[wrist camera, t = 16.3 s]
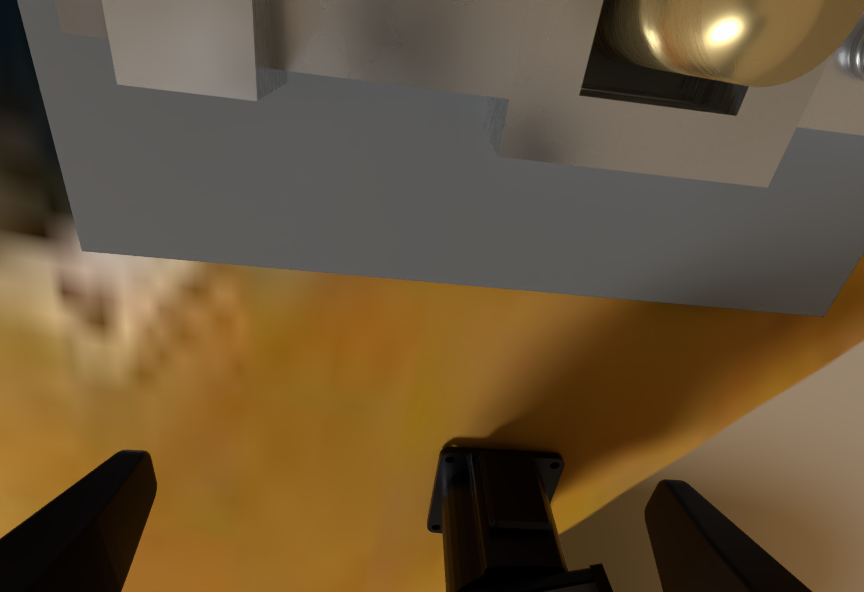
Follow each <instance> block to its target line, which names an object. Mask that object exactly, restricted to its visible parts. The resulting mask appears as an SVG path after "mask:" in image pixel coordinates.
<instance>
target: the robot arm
mask: <svg viewBox="0 0 864 592" xmlns="http://www.w3.org/2000/svg"><path fill="white" fill-rule="evenodd" d="M450 456H451V457H450ZM553 462H554V463H553ZM563 468H564V461H563V458H562V456H561V455H560V454H558V453H549V452H531V451H514V450H496V449H479V448H461V447H446V448H444V449H442V450H441V452H440V455H439V460H438V465H437V471H436V476H435V481H434V487H433V492H432V498H431V503H430V508H429V514H428V519H427V527H428V530H429V531H430V532H434V533H442V534H443V550H444V566H445V582H446V592H613V591H612V588H611V585H610V583H609V580H608V578H607V575H606V573H605V570H604V568H603V565H602V563H599V564H593V565H589V568H585V569H579V570H574V571H568V567H567V563H566V560H565V557H564V553H563V549H562V546H561V542H560V539H559V535H558V531H557V528H556V524H555V521H554V517H553V514H552V510H551V507H550V502H551V500H552V497H553V494H554V492H555V489H556V486H557V484H558V481H559V478H560V476H561V473H562V470H563ZM156 491H157V481H156V477H155V472H154V468H153V464H152V459H151V456H150V454H149V453H148V452H147V451H143V450H122V451H119V452H117V453H116V454H114V455H113V456H112V457H110V458H109V459H108V460H106V461H105V462H104V463H102V464H101V465H100V466H98V467H97V468H95V469H94V470H93V471H91V472H90V473H89V474H87V475H86V476H85V477H83V478H82V479H81V480H79V481H78V482H76V483H75V484H74V485H72V486H71V487H70V488H68V489H67V490H66V491H64V492H63V493H62V494H60V495H59V496H58V497H56V498H55V499H53V500H52V501H51V502H49V503H48V504H47V505H45V506H44V507H43V508H41V509H40V510H39V511H37V512H36V513H34V514H33V515H32V516H30V517H29V518H28V519H26V520H25V521H24V522H22V523H21V524H20V525H18V526H17V527H16V528H14V529H13V530H11V531H10V532H9V533H7V534H6V535H5V536H3V537H2V538H1V539H0V592H121V591H122V588H123V585H124V583H125V580H126V578H127V575H128V572H129V569H130V566H131V564H132V561H133V558H134V555H135V552H136V550H137V547H138V544H139V541H140V538H141V536H142V533H143V530H144V527H145V524H146V522H147V519H148V516H149V513H150V510H151V507H152V505H153V502H154V499H155V496H156ZM645 522H646V526H647V530H648V534H649V537H650V541H651V545H652V549H653V553H654V557H655V561H656V565H657V569H658V573H659V577H660V581H661V585H662V589H663V592H812V591H811V590H810V589H809V588H807V587H806V586H805V585H804V584H803V583H802V582H801V581H799V580H798V579H797V578H796V577H795V576H794V575H792V574H791V573H790V572H789V571H788V570H787V569H785V568H784V567H783V566H782V565H781V564H779V562H777V561H776V560H775V559H774V558H773V557H772V556H770V555H769V554H768V553H767V552H766V551H765V550H764V549H763V548H761V547H760V546H759V545H758V544H757V543H755V542H754V541H753V540H752V539H751V538H750V537H749V536H748V535H746V534H745V533H744V532H743V531H742V530H741V529H739V528H738V527H737V526H736V525H735V524H734V523H733V522H731V521H730V520H729V519H728V518H727V517H726V516H725V515H723V514H722V513H721V512H720V511H719V510H718V509H717V508H715V507H714V506H713V505H712V504H711V503H709V502H708V501H707V500H706V499H705V498H704V497H703V496H701V495H700V494H699V493H698V492H697V491H696V490H695V489H694V488H692V487H691V486H690V485H689V484H687V483H686V482H684V481H681V480H667V479H665V480H662V481H660V482H659V483H658V485H657V486H656V488H655V490H654V492H653V494H652V496H651V497H650V499H649V501H648V503H647V505H646V508H645Z"/></svg>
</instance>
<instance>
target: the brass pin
mask: <svg viewBox="0 0 864 592" xmlns="http://www.w3.org/2000/svg"><path fill="white" fill-rule="evenodd" d="M863 11H864V0H603V4H602V8H601V12H600V16H599V20H598V24H597V28H596V32H595V36H594V40H593V43H592V44H593V46H594V47H595V48H596V50H597V51H598V52H599V53H600V54H602V55H603V56H604V57H606V58H607V59H610V60H612V61H615V62H619V63H625V64H630V65H636V66H641V67H646V68H652V69H657V70H663V71H668V72H674V73H679V74H684V75H690V76H695V77H701V78H706V79H712V80H717V81H723V82H728V83H733V84H739V85H744V86H750V87H770V86H775V85H780V84H783V83H786V82H790V81H792V80H794V79H796V78H799V77H801V76H803V75H804V74H806V73H808V72H810V71H811V70H813V69H814V68H815V67H817V66H818V65H820V64H821V63H822V62H823V61H825V60H826V59H827V58H828V57H829V56H830V55H832V54H833V52H834V51H835V50H836V49H837V48H838V47H839V46H840V45H841V44H842V43H843V42H844V40H845V39H846V38H847V37H848V35H849V34H850V33H851V31H852V30H853V28H854V27H855V25H856V24H857V22H858V20H859V19H860V17H861V15H862V13H863Z"/></svg>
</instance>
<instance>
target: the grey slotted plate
mask: <svg viewBox="0 0 864 592" xmlns="http://www.w3.org/2000/svg"><path fill="white" fill-rule="evenodd" d="M55 5H56V9H57V13H58V18H59V22H60V27H61V31H62V33H70V34H77V35H85V36H93V37H101V38H108V32H107V27H106V22H105V16H104V11H103V5H102V0H55ZM714 83H715V80H712V79H706V78H701V77H695V76H690V75H684V74H683V75H682V78H681V81H680V83H679V86H678V89H677V92H676V95H668V94H661V93H653V92H646V91H638V90H631V89H623V88H615V87H608V86H600V85H593V84H585V83H582V86H581V89H583V90H591V91H598V92H606V93H613V94H621V95H629V96H636V97H644V98H652V99H659V100H667V101H675V102H682V103H690V104H698V105H705V106H706V104H707V101H708V99H709V96H710V93H711V91H712V88H713V85H714ZM497 102H498V98H496V97H488V96H487V100H486V106H485V112H484V117H483V123H482V131H483V133H484V134H485V136H486V138H487V139H488V141H491V135H492V130H493V124H494V119H495V113H496V107H497ZM797 127H800V128H808V129H816V130H824V131H831V132H839V133H847V134H855V135H863V136H864V11H863V13H862V15H861V17H860V19H859V20H858V22H857V24H856V25H855V27H854V28H853V30H852V31H851V33H850V34H849V35H848V37H847V38H846V39H845V40H844V42H843V43H842V44H841V45H840V46H839V47H838V48H837V49H836V50H835V51H834V52H833V54H832V55H831V57H830V59H829V61H828V63H827V65H826V67H825V69H824V71H823V73H822V75H821V77H820V80H819V82H818V84H817V86H816V88H815V90H814V92H813V94H812V96H811V98H810V100H809V102H808V105H807V107H806V109H805V111H804V113H803V115H802V117H801V119H800V121H799V123H798V125H797Z"/></svg>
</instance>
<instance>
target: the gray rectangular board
mask: <svg viewBox="0 0 864 592" xmlns="http://www.w3.org/2000/svg"><path fill="white" fill-rule="evenodd" d="M17 1H18V5H19V9H20V13H21V17H22V20H23V24H24V28H25V32H26V36H27V40H28V44H29V48H30V51H31V55H32V59H33V63H34V67H35V71H36V75H37V78H38V82H39V86H40V90H41V94H42V98H43V102H44V106H45V109H46V113H47V117H48V121H49V125H50V129H51V133H52V136H53V140H54V144H55V148H56V152H57V156H58V160H59V163H60V167H61V171H62V175H63V179H64V183H65V187H66V191H67V194H68V198H69V202H70V206H71V210H72V214H73V218H74V221H75V225H76V229H77V233H78V237H79V241H80V245H81V248H82V251H88V252H99V253H110V254H121V255H133V256H144V257H155V258H166V259H178V260H189V261H200V262H211V263H223V264H234V265H245V266H256V267H267V268H279V269H290V270H301V271H312V272H324V273H335V274H346V275H357V276H369V277H380V278H391V279H402V280H414V281H425V282H436V283H447V284H459V285H470V286H481V287H492V288H504V289H515V290H526V291H537V292H549V293H560V294H571V295H582V296H593V297H605V298H616V299H627V300H638V301H650V302H661V303H672V304H683V305H695V306H706V307H717V308H728V309H740V310H751V311H762V312H773V313H785V314H796V315H807V316H818V317H824V316H825V315H826V313H827V311H828V310H829V308H830V306H831V305H832V303H833V302H834V300H835V298H836V297H837V295H838V294H839V292H840V290H841V289H842V287H843V286H844V284H845V282H846V281H847V279H848V278H849V276H850V274H851V273H852V271H853V270H854V268H855V266H856V265H857V263H858V262H859V260H860V258H861V257H862V255H863V254H864V136H863V135H855V134H847V133H839V132H831V131H824V130H816V129H808V128H800V127H797V128H796V130H795V132H794V134H793V136H792V138H791V140H790V142H789V144H788V146H787V148H786V150H785V153H784V155H783V157H782V159H781V161H780V163H779V165H778V167H777V169H776V171H775V173H774V175H773V178H772V180H771V182H770V184H769V186H768V188H765V187H756V186H748V185H739V184H730V183H721V182H713V181H704V180H695V179H687V178H678V177H669V176H661V175H652V174H643V173H635V172H626V171H617V170H608V169H600V168H591V167H582V166H574V165H565V164H556V163H548V162H539V161H530V160H522V159H513V158H504V157H498V155H497V154H496V152H495V150H494V149H493V147H492V145H491V143H490V141H488V139H487V138H486V136H485V134H484V133H483V131H482V123H483V117H484V112H485V106H486V100H487V96H480V95H472V94H464V93H456V92H449V91H441V90H433V89H425V88H417V87H409V86H401V85H393V84H385V83H378V82H370V81H362V80H354V79H346V78H338V77H330V76H322V75H314V74H307V73H299V72H291V71H287V80H288V82H287V83H286V84H284V85H282V86H281V87H279V88H278V89H276V90H274V91H273V92H271V93H270V94H268V95H267V96H265V97H263V98H262V99H260V100H259V101H250V100H242V99H234V98H226V97H217V96H209V95H201V94H192V93H184V92H176V91H167V90H159V89H151V88H142V87H134V86H126V85H117V81H116V76H115V70H114V65H113V59H112V54H111V49H110V43H109V38H101V37H93V36H85V35H77V34H70V33H62V31H61V27H60V22H59V18H58V13H57V9H56V5H55V0H17ZM682 75H683V74H679V73H674V72H668V71H663V70H657V69H652V68H646V67H641V66H636V65H630V64H625V63H619V62H615V61H612V60H610V59H607V58H606V57H604V56H603V55H602V54H600V53H599V52H598V51H597V50H596V48H595V47H594V46H593V44H592V47H591V51H590V55H589V59H588V63H587V67H586V71H585V75H584V79H583V82H582V83H585V84H593V85H600V86H608V87H615V88H623V89H631V90H638V91H646V92H653V93H661V94H668V95H676V92H677V89H678V86H679V83H680V81H681V78H682Z"/></svg>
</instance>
